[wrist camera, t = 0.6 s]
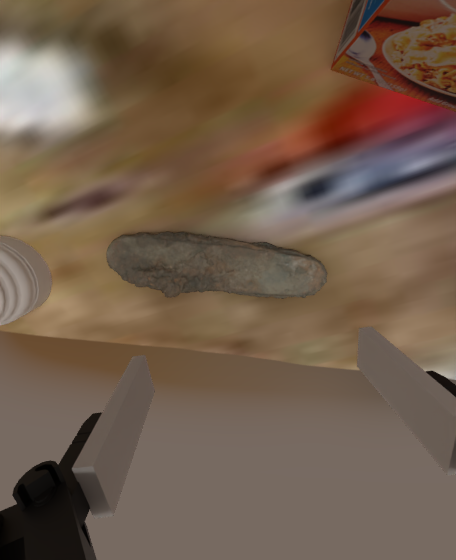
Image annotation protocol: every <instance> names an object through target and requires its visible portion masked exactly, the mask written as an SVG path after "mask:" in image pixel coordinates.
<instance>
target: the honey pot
mask: <svg viewBox="0 0 456 560" xmlns="http://www.w3.org/2000/svg"><path fill="white" fill-rule="evenodd" d="M51 287H52V279H51V273H50V270H49V268H48V265H47V263H46V262H45V260H44V259H43V258H42V256H41V255H40V254H39V253H38V252H37V251H36V250H35V249H34V248H33V247H32V246H30V245H28V244H26V243H25V242H23V241H21V240H18V239H15V238H12V237H8V236H0V325H4V324H8V323H10V322H12V321H14V320H17V319H18V318H20V317H22V316H23V315H25V314H27V313H29V312H31V311H32V310H34V309H36V308H37V307H39V306H40V305H42V304H43V303H44V302H45V301H46V300H47V298H48V296H49V294H50V292H51Z"/></svg>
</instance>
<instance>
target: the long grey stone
mask: <svg viewBox="0 0 456 560" xmlns="http://www.w3.org/2000/svg"><path fill="white" fill-rule="evenodd" d="M107 262H108V263H109V266H110V268H112V269H113V270H114V271H116V272H117V273H118V274H119V275H120V276H121V277H122V279H123V280H125V281H128V282H129V283H131V284H135V286H136V287H149V288H152V289H156V290H161V291H162V293H164V294H165V297H176V296H177V295H179V294H180V293H184V292H185V293H189V292H196V291H199V292H204V291H224V292H228V293H236V294H240V295H249V296H256V297H261V296H262V297H271V296H272V297H275V298H282V299H284V298H287V297H295V296H296V297H303V298H305V297H306V296H307V295H315V293H316V292H317V291H319V290H320V289H321V287H322V286H323V285H324V284H325V283H326V282H327V281H326V277H327V272H326V269H325V268H324V265H323V264H322V263H321V262H320V261H319V260H317V259H315V258H314V257H312V256H311V255H309V256H306V255H303V254H301V253H299V252H298V251H296V250H291V249H283V248H280V247H279V248H277V247H276V246H274V245H272V244H269V243H267V242H266V243H265V242H264V243H261V242H260V243H252V244H251V243H247V242H241V241H236V240H232V239H222V238H217V237H211V236H208V237H205V236H202V235H193V234H188V233H185V232H177V233H173V232H165V233H159V234H149V233H137V234H135V235H122V236H120V237H118V238H117V239H115V240H113V241H112V242H111V244H110V245H109V247H108V249H107Z"/></svg>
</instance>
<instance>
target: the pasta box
mask: <svg viewBox="0 0 456 560" xmlns="http://www.w3.org/2000/svg"><path fill="white" fill-rule="evenodd" d="M331 70H332V71H335V72H338V73H341V74H344V75H347V76H350V77H353V78H356V79H359V80H362V81H365V82H368V83H371V84H374V85H377V86H380V87H383V88H386V89H389V90H392V91H395V92H398V93H401V94H404V95H407V96H410V97H413V98H416V99H419V100H422V101H425V102H428V103H431V104H434V105H437V106H440V107H443V108H446V109H449V110H452V111H455V112H456V0H352V2H351V5H350V9H349V12H348V15H347V18H346V22H345V25H344V28H343V31H342V35H341V38H340V41H339V44H338V48H337V51H336V54H335V57H334V61H333V64H332V67H331Z"/></svg>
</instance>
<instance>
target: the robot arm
mask: <svg viewBox="0 0 456 560" xmlns="http://www.w3.org/2000/svg"><path fill="white" fill-rule="evenodd" d="M357 367H358V368H359V369H360V370H361V371H362V373H363V374H364V375H365V376H366V377H367V379H368V380H369V381H370V382H371V383H372V385H373V386H374V387H375V388H376V389H377V391H378V392H379V393H380V394H381V396H382V397H383V398H384V399H385V400H386V402H387V403H388V404H389V405H390V406H391V408H392V409H393V410H394V411H395V412H396V414H397V415H398V416H399V417H400V418H401V420H402V421H403V422H404V423H405V424H406V426H407V427H408V428H409V429H410V431H411V432H412V433H413V434H414V435H415V437H416V438H417V439H418V440H419V442H420V443H421V444H422V445H423V446H424V448H426V450H427V451H428V452H429V454H430V455H431V456H432V457H433V458H434V460H435V461H436V462H437V463H438V464H439V466H440V467H441V468H442V469H443V471H444V472H445V473H446V474H447V475H452V474H456V385H455V384H453V383H452V382H451V381H450V380H448V379H447V378H446V377H444V376H442V375H440V374H438V373H436V372H434V371H426V372H425V371H424V370H423V369H421V368H420V367H419V366H418V365H417V364H415V363H414V362H413V361H412V360H411V359H409V358H408V357H407V356H406V355H405V354H404V353H402V352H401V351H400V350H399V349H398V348H396V347H395V346H394V345H393V344H392V343H390V342H389V341H388V340H387V339H386V338H384V337H383V336H382V335H381V334H380V333H378V332H377V331H376V330H375V329H374V328H373V327H365V328H359V339H358V360H357ZM154 392H155V391H154V387H153V383H152V379H151V375H150V372H149V368H148V364H147V360H146V356H145V355H142V356H134V357H132V359H131V361H130V363H129V364H128V366H127V368H126V370H125V372H124V374H123V375H122V377H121V379H120V381H119V383H118V385H117V386H116V389H115V390H114V392H113V394H112V396H111V397H110V399H109V401H108V403H107V405H106V407H105V409H104V410H103V412H102V413H95V414H92V415H91V416H90V417H89V418H88V419H87V420H86V421H85V422H84V423H83V425H82V426H81V428H80V430H79V431H78V433H77V436H75V438H74V440H73V441H72V444H71V445H70V446H69V448H68V450H67V452H66V453H65V455H64V456H63V458H62V460H61V461H60V463H59V465H58V464H57V463H56V462H55V461H46V462H42V463H40V464H38V465H36V466H34V467H33V468H32V469H30V470H29V471H28V472H26V473H25V474H24V475H23V476H22V477H21V479H20V480H19V481H18V483H17V484H16V486H15V488H14V491H13V497H14V499H15V500H16V502H17V504H16V505H14V506H12V507H9V508H7V509H5V510H2V511H0V560H96V556H95V553H94V550H93V546H92V543H91V539H90V536H89V533H88V529H87V526H86V523H85V519H86V517H87V514H88V512H89V509H90V511H91V513H92V515H93V517H94V518H101V517H110V516H114V513H115V510H116V506H117V504H118V501H119V498H120V494H121V492H122V488H123V485H124V482H125V479H126V476H127V473H128V470H129V467H130V464H131V461H132V458H133V455H134V452H135V449H136V446H137V443H138V440H139V437H140V434H141V431H142V428H143V425H144V422H145V419H146V416H147V413H148V410H149V407H150V404H151V401H152V398H153V395H154Z"/></svg>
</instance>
